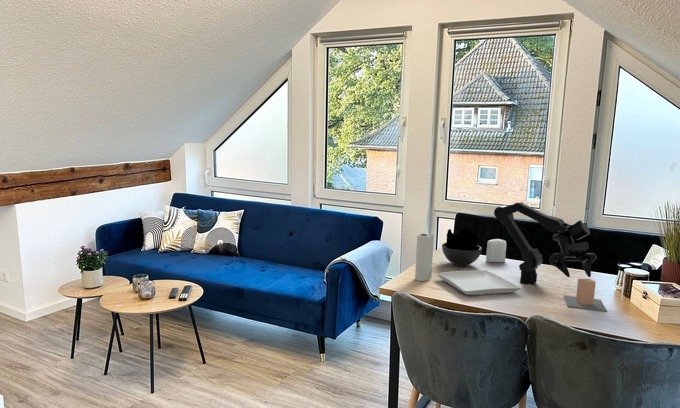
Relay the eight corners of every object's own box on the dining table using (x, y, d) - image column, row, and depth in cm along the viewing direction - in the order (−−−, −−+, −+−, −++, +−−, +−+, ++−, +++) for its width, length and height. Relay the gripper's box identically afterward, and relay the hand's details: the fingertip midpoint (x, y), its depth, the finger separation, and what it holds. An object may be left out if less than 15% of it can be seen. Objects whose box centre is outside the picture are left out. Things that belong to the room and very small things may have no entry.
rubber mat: (567, 307, 193) (567, 306, 192) (563, 296, 206) (563, 295, 206) (607, 312, 188) (607, 311, 188) (600, 300, 201) (600, 299, 201)
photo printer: (502, 260, 263) (504, 238, 261) (506, 262, 258) (508, 240, 257) (484, 260, 261) (486, 238, 260) (488, 262, 257) (489, 240, 255)
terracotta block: (581, 304, 195) (584, 281, 193) (575, 301, 198) (578, 278, 197) (593, 304, 195) (595, 281, 194) (587, 301, 199) (589, 278, 198)
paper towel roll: (414, 280, 222) (416, 235, 219) (416, 277, 228) (418, 232, 225) (429, 282, 220) (432, 236, 217) (431, 278, 226) (433, 234, 223)
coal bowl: (485, 264, 254) (487, 229, 252) (473, 272, 238) (476, 235, 235) (448, 258, 265) (450, 224, 262) (435, 266, 248) (437, 230, 245)
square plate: (464, 299, 200) (465, 290, 199) (434, 279, 226) (435, 271, 225) (521, 295, 207) (522, 286, 206) (486, 276, 233) (486, 268, 232)
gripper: (555, 234, 202) (567, 267, 192) (596, 234, 204) (611, 267, 195) (543, 248, 211) (554, 280, 201) (583, 248, 213) (596, 280, 203)
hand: (579, 276), depth 200 cm, fingers open, 9 cm apart
